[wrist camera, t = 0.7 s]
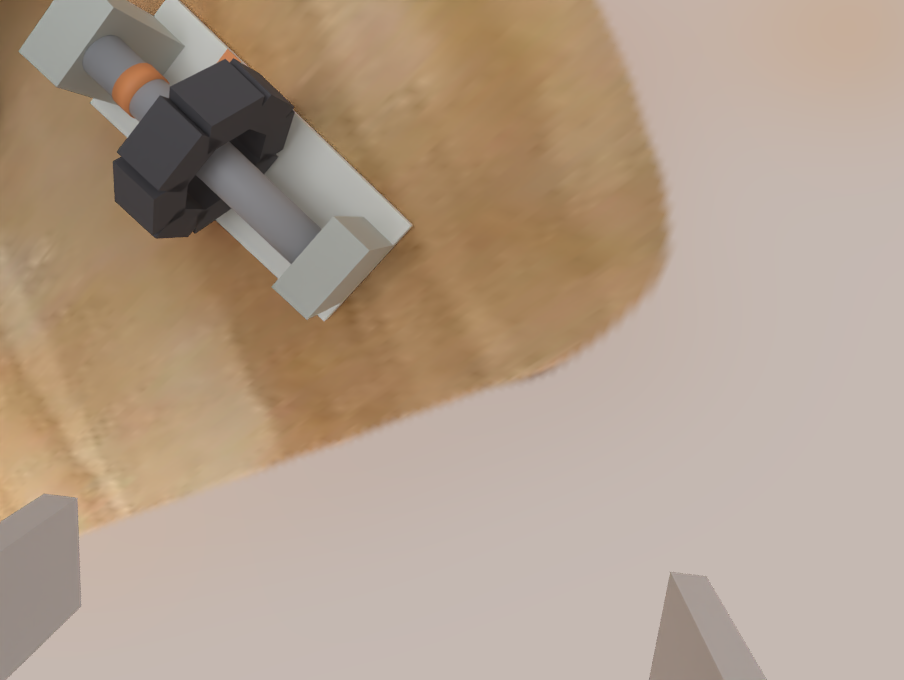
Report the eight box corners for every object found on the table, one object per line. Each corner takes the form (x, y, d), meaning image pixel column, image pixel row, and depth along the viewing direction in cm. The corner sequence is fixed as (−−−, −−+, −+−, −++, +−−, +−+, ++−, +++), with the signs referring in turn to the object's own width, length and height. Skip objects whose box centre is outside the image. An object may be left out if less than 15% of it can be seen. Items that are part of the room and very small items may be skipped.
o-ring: (183, 207, 36) (77, 202, 27) (280, 86, 35) (202, 39, 26) (213, 235, 37) (118, 240, 28) (311, 116, 35) (244, 80, 26)
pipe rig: (98, 105, 37) (0, 77, 30) (177, -2, 36) (94, -59, 28) (327, 319, 39) (286, 342, 31) (413, 225, 37) (391, 226, 30)
